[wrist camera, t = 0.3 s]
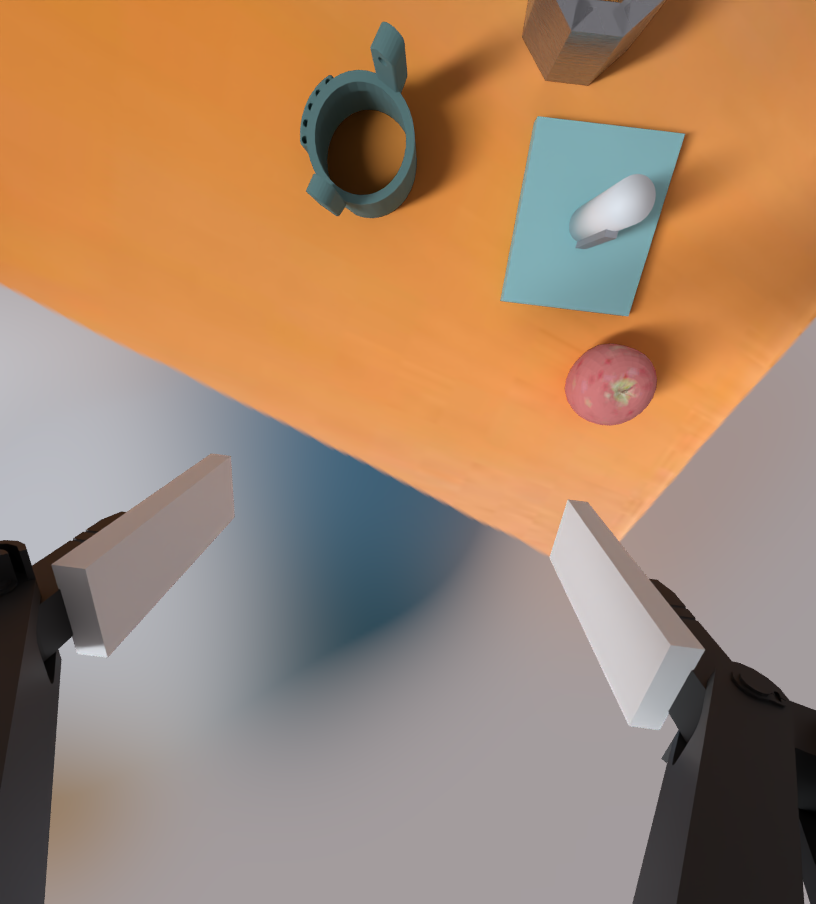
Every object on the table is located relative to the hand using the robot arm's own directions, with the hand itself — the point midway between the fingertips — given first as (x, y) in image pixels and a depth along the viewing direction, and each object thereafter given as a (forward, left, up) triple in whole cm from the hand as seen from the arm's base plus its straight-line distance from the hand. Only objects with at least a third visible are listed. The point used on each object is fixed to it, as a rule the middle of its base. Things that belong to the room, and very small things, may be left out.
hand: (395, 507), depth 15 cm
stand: (-16, +13, -27) cm, 34 cm away
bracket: (-19, -7, -27) cm, 34 cm away
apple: (-2, +18, -27) cm, 33 cm away
